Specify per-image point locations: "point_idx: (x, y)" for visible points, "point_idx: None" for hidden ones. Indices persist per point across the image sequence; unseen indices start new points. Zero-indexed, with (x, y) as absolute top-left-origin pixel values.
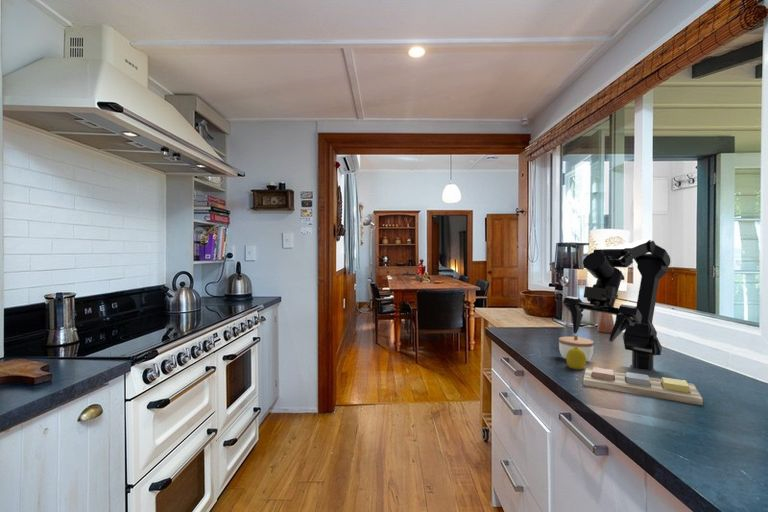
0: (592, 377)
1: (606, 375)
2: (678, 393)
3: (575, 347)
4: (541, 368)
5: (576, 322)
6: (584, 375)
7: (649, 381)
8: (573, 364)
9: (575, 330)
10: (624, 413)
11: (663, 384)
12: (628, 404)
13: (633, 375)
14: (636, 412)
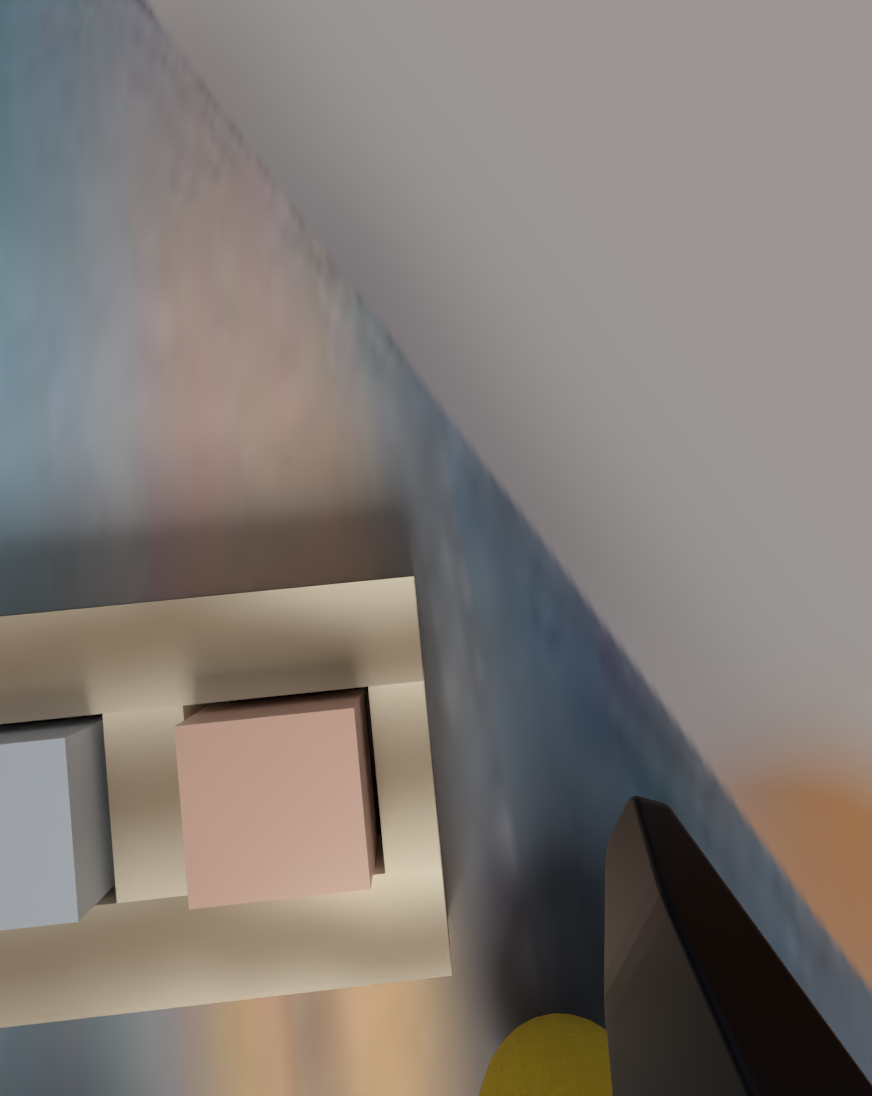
0: (357, 686)
1: (237, 715)
2: None
3: None
4: (818, 952)
5: (731, 1068)
6: (424, 701)
7: None
8: (575, 1024)
9: (639, 835)
10: (129, 285)
11: None
12: (115, 474)
13: (12, 833)
14: (65, 352)
